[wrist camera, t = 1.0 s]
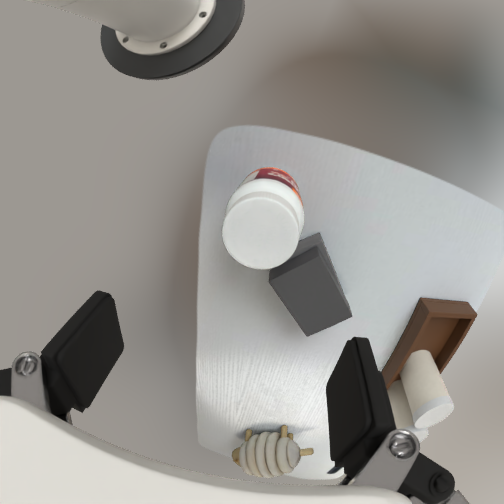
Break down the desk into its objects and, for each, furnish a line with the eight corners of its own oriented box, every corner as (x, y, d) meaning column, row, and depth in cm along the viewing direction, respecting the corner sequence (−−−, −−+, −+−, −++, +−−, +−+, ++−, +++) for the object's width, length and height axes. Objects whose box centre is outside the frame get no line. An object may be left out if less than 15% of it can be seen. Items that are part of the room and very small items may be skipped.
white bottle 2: (384, 382, 37) (397, 436, 28) (416, 375, 37) (434, 427, 27) (377, 402, 40) (387, 452, 30) (407, 396, 39) (420, 444, 29)
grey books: (267, 253, 31) (264, 274, 27) (321, 231, 29) (327, 250, 25) (298, 313, 34) (299, 339, 30) (346, 296, 32) (353, 320, 28)
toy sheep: (225, 425, 48) (215, 470, 38) (303, 413, 44) (302, 464, 34) (248, 445, 52) (242, 484, 42) (318, 434, 47) (319, 478, 37)
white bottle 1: (402, 352, 34) (423, 410, 25) (435, 346, 34) (460, 399, 24) (393, 378, 37) (408, 432, 27) (425, 371, 36) (444, 422, 26)
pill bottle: (311, 192, 27) (328, 231, 17) (273, 234, 30) (267, 292, 20) (264, 153, 26) (253, 168, 16) (228, 199, 29) (197, 240, 19)
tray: (420, 297, 31) (429, 311, 28) (467, 301, 31) (477, 314, 28) (353, 413, 43) (355, 427, 40) (396, 411, 43) (399, 424, 40)
